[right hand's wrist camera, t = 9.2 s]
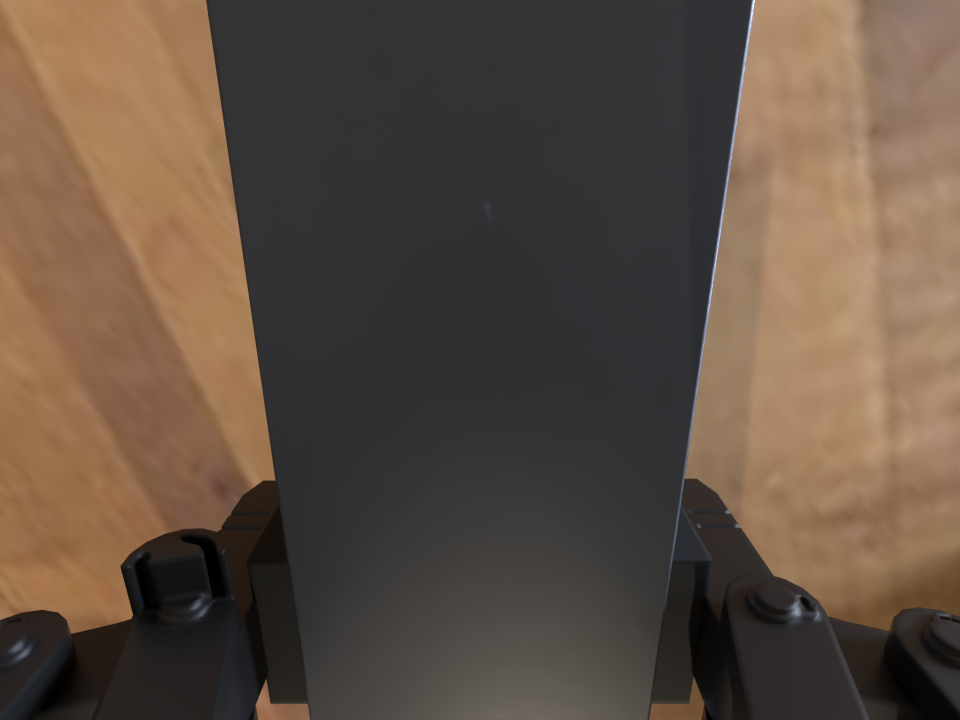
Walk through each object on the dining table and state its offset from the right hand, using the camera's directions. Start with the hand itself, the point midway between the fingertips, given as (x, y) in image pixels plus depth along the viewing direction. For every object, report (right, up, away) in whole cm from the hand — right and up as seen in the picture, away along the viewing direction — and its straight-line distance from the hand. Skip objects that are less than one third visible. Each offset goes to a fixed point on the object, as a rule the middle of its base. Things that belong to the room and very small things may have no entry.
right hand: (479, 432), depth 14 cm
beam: (0, +10, -4) cm, 11 cm away
